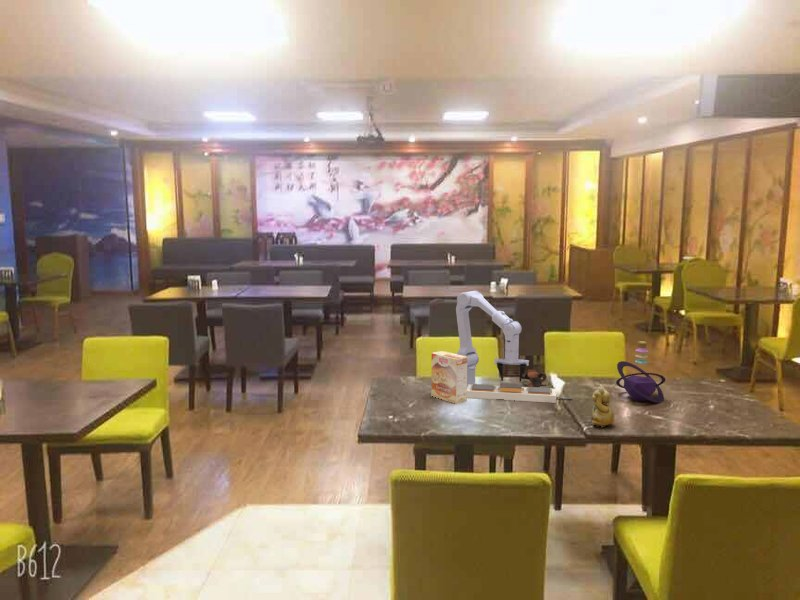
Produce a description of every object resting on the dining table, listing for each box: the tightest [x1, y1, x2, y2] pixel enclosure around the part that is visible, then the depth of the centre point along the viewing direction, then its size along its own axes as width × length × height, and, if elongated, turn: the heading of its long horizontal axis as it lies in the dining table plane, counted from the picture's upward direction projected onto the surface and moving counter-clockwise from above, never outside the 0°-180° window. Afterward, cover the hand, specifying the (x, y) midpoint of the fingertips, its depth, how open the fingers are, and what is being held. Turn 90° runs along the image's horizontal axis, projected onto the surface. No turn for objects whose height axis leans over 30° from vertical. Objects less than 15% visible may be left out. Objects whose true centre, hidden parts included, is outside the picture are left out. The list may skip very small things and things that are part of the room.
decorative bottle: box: [615, 340, 667, 404], centre depth 272 cm, size 22×21×25 cm
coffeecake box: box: [430, 350, 468, 405], centre depth 273 cm, size 15×7×20 cm, turn 42°
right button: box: [527, 386, 551, 395], centre depth 275 cm, size 9×7×2 cm
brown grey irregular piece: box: [521, 369, 548, 387], centre depth 296 cm, size 12×10×8 cm
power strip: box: [467, 384, 573, 404], centre depth 277 cm, size 45×11×3 cm, turn 79°
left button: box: [472, 383, 495, 392], centre depth 279 cm, size 9×7×2 cm
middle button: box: [499, 381, 523, 392], centre depth 277 cm, size 9×7×2 cm
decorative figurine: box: [591, 383, 615, 428], centre depth 240 cm, size 10×8×15 cm
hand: (511, 380), depth 276 cm, fingers open, 7 cm apart
